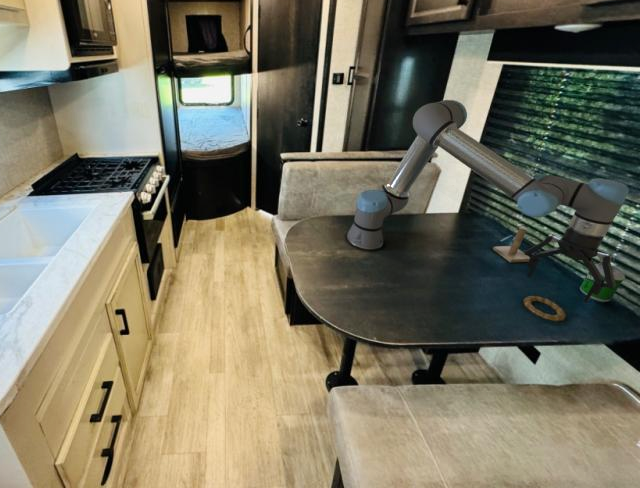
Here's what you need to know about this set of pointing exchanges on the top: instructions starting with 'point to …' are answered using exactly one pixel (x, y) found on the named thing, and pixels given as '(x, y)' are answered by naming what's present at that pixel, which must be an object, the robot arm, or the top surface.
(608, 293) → the soda can
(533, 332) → the top surface
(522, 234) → the rack
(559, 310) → the ring
